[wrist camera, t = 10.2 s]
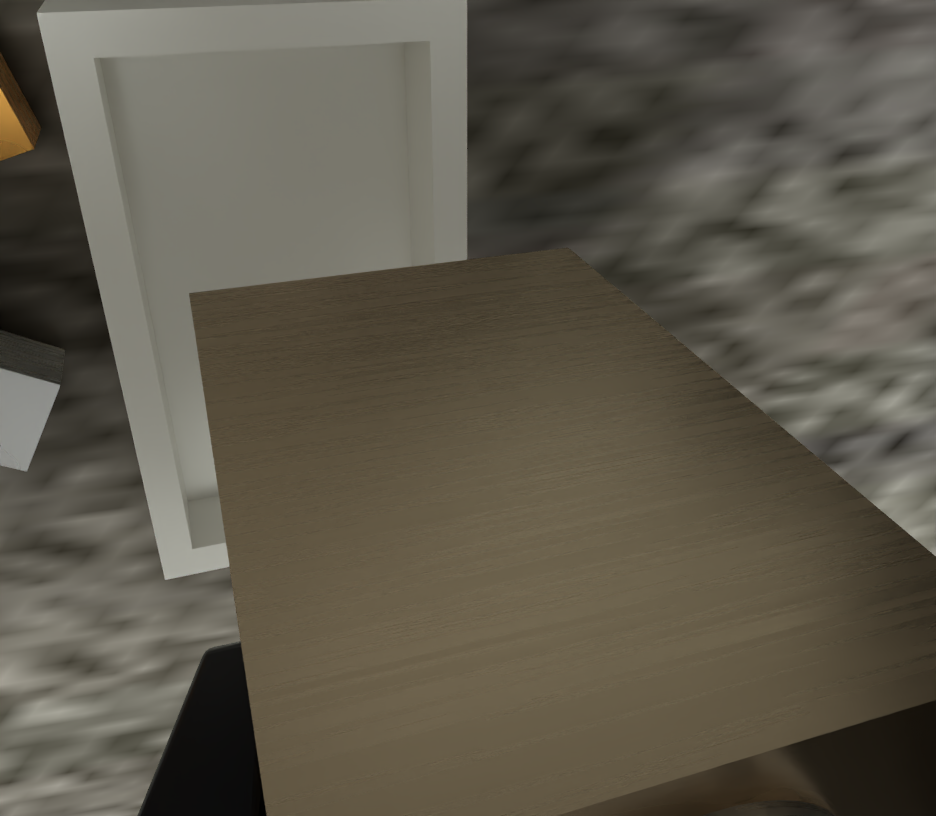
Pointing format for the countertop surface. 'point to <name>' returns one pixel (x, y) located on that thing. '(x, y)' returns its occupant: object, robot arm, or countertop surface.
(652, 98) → the countertop surface
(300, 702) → the link
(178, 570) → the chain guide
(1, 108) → the sprocket
